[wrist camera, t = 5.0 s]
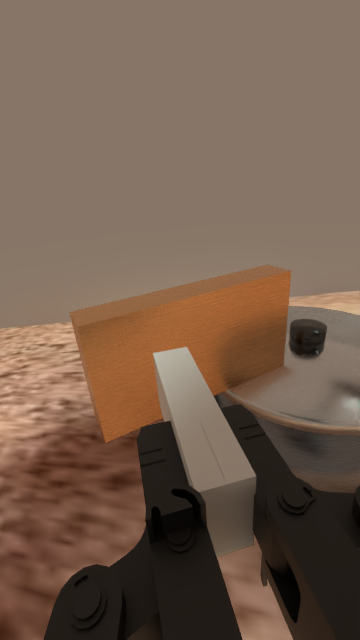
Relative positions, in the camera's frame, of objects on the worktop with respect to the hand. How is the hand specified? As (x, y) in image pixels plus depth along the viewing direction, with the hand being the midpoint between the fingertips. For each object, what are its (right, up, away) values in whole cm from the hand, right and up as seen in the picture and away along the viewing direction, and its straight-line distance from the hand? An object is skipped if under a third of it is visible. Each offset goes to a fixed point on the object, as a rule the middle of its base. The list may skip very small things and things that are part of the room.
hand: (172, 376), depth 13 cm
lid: (+8, -2, +13) cm, 15 cm away
